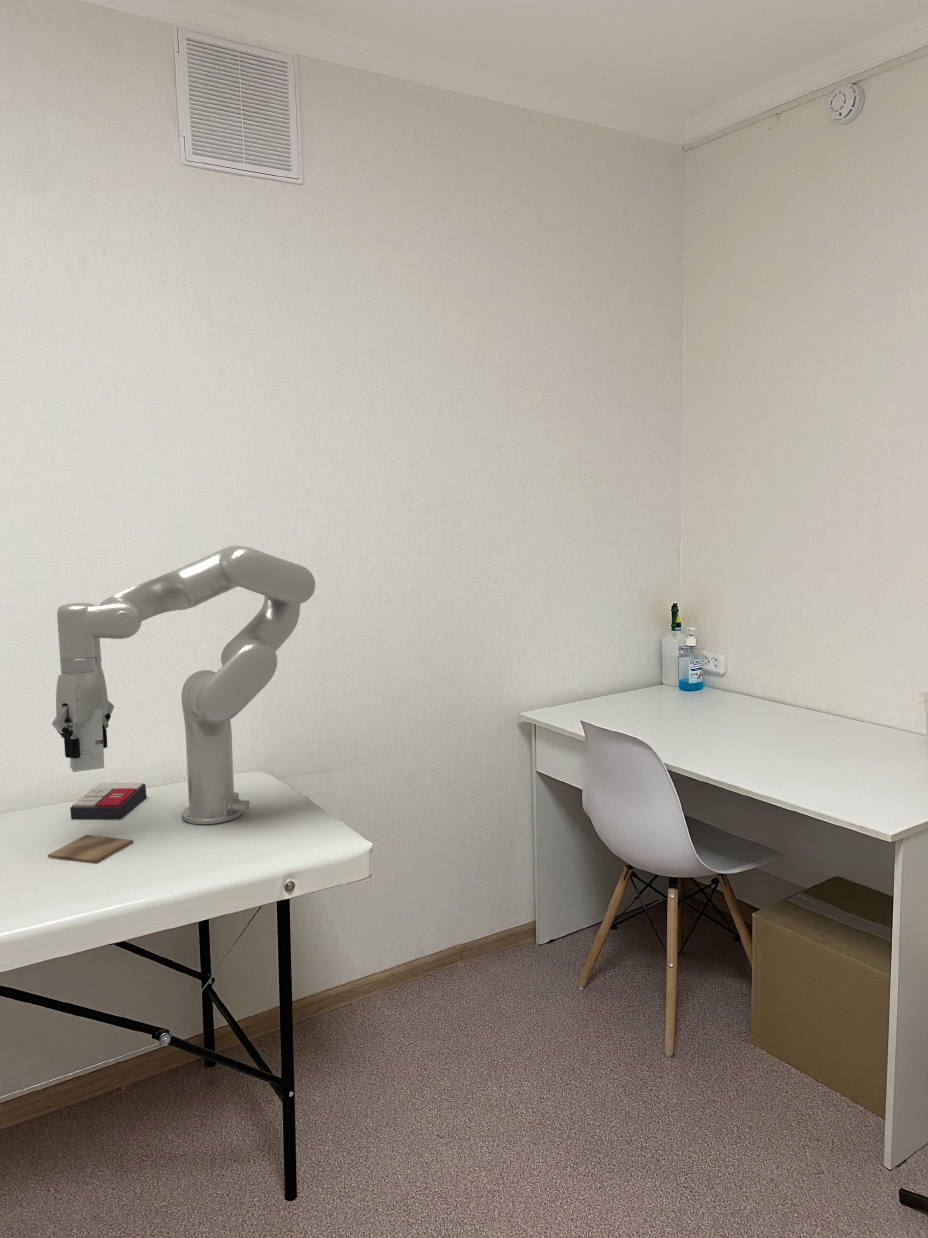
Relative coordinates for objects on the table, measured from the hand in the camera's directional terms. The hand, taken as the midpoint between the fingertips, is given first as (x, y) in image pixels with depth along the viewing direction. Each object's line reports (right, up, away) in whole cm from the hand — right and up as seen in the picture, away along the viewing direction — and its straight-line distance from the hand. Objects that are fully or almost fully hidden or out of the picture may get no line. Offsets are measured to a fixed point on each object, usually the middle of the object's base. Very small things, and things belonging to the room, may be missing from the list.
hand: (86, 751), depth 185 cm
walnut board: (+3, -18, -5) cm, 19 cm away
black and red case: (-3, -16, +20) cm, 26 cm away
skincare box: (0, -3, +1) cm, 4 cm away
